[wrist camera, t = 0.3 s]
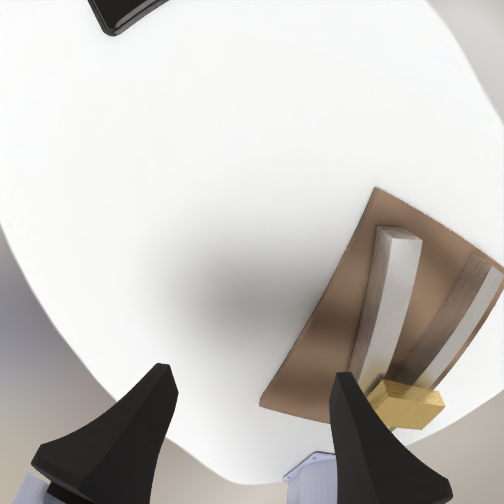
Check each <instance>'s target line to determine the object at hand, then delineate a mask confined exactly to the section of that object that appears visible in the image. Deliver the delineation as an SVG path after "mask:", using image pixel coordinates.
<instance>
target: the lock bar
mask: <svg viewBox="0 0 504 504" xmlns="http://www.w3.org/2000/svg"><path fill="white" fill-rule="evenodd" d="M367 400H368V401H369V403H370V404H371V406H372V407H373V409H374V410H375V412H376V413H377V415H378V416H379V417H380V419H381V420H382V421H383V423H384V424H385V425H386V426H389V427H397V428H407V429H419V430H422V429H423V428H424V427H425V426H426V425H427V424H428V423H429V422H431V421H432V420H433V419H434V418H435V417H436V416H437V415H438V414H439V413H440V412H441V411H442V410H443V409H444V408H445V404H444V402H443V400H442V398H441V396H440V393H439V391H434V390H429V389H424V388H419V387H414V386H410V385H405V384H401V383H397V382H392V381H388V380H384V379H382V381H381V382H380V383H379V384H378V385H377V387H376V388H375V389H374V390H373V391H372V392H371V393H370V395H369V396H368V397H367Z"/></svg>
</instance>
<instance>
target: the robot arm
mask: <svg viewBox="0 0 504 504" xmlns="http://www.w3.org/2000/svg"><path fill="white" fill-rule="evenodd" d="M178 393H179V392H178V389H177V386H176V383H175V380H174V377H173V374H172V371H171V368H170V365H168V364H161V363H157V364H155V365H154V366H153V368H152V369H151V370H150V371H149V372H148V373H147V374H146V375H145V376H144V377H143V378H142V379H141V380H140V381H139V382H138V383H137V384H136V385H135V386H134V387H133V388H132V389H131V390H130V391H129V392H128V393H127V394H126V395H125V396H124V397H123V398H122V399H120V400H119V401H118V402H117V403H116V404H115V405H114V406H112V407H111V408H110V409H109V410H107V411H106V412H105V413H103V414H102V415H101V416H99V417H98V418H97V419H95V420H94V421H92V422H90V423H89V424H87V425H86V426H84V427H82V428H80V429H79V430H77V431H75V432H72V433H70V434H68V435H66V436H64V437H62V438H59V439H57V440H54V441H51V442H48V443H45V444H41V445H40V447H39V449H38V451H37V452H36V454H35V456H34V458H33V460H32V461H31V465H32V466H33V467H34V468H35V469H36V470H37V471H39V472H40V473H41V474H43V475H44V476H45V477H46V478H48V479H49V480H50V481H51V483H50V485H49V484H48V483H46V482H44V481H43V480H41V479H40V478H38V477H37V476H35V475H33V474H32V473H31V472H28V473H27V475H26V477H25V479H24V481H23V483H22V485H21V487H20V489H19V491H18V493H17V495H16V497H15V499H14V502H13V504H149V503H150V494H151V488H152V483H153V477H154V471H155V468H156V463H157V459H158V455H159V452H160V449H161V446H162V443H163V441H164V438H165V435H166V433H167V430H168V427H169V425H170V422H171V419H172V417H173V414H174V411H175V407H176V402H177V398H178ZM329 413H330V424H331V431H332V437H333V443H334V449H335V455H332V454H325V453H314V454H312V455H311V456H310V457H309V458H308V459H306V460H305V461H304V462H303V463H301V464H300V465H299V466H298V467H296V468H295V469H294V470H293V471H291V472H290V473H289V474H287V475H286V476H285V477H283V481H287V482H288V495H287V504H445V503H447V502H448V501H450V500H451V499H452V498H453V493H452V489H451V486H450V483H449V481H448V479H446V478H445V477H443V476H441V475H440V474H438V473H437V472H435V471H434V470H432V469H431V468H429V467H428V466H427V465H425V464H424V463H422V462H421V461H420V460H419V459H418V458H417V457H415V456H414V455H413V454H412V453H411V452H410V451H409V450H407V449H406V448H405V447H404V446H403V445H402V444H401V442H400V441H399V440H398V439H397V438H396V437H395V436H394V435H393V434H392V433H391V431H390V430H389V429H388V428H387V427H386V425H385V424H384V423H383V421H382V420H381V419H380V417H379V416H378V415H377V413H376V412H375V410H374V409H373V407H372V406H371V404H370V403H369V401H368V400H367V398H366V397H365V395H364V393H363V392H362V390H361V388H360V387H359V385H358V383H357V381H356V380H355V378H354V376H353V374H352V373H351V372H337V373H336V376H335V380H334V384H333V388H332V391H331V395H330V398H329Z"/></svg>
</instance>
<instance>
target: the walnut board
mask: <svg viewBox="0 0 504 504" xmlns="http://www.w3.org/2000/svg"><path fill="white" fill-rule="evenodd" d="M377 226H389V227H401V228H405V229H406V230H408V231H409V232H411V233H412V234H414V235H415V236H417V237H418V238H420V239H421V240H422V241H423V242H422V247H421V253H420V258H419V263H418V268H417V272H416V277H415V281H414V285H413V290H412V294H411V297H410V301H409V305H408V309H407V312H406V316H405V319H404V323H403V326H402V329H401V332H400V335H399V339H398V342H397V345H396V348H395V350H394V353H393V356H392V359H391V362H390V364H389V367H388V370H387V372H386V375H385V377H384V380H388V379H389V378H390V377H391V376H392V375H393V373H394V372H395V371H396V370H397V368H398V367H399V366H400V365H401V363H402V362H403V361H404V359H405V358H406V357H407V356H408V354H409V353H410V352H411V350H412V349H413V347H414V346H415V345H416V343H417V342H418V341H419V339H420V338H421V336H422V335H423V333H424V332H425V330H426V329H427V328H428V326H429V325H430V323H431V322H432V320H433V318H434V317H435V315H436V314H437V312H438V311H439V309H440V307H441V306H442V304H443V302H444V301H445V299H446V297H447V296H448V294H449V292H450V291H451V289H452V287H453V285H454V284H455V282H456V280H457V278H458V276H459V274H460V272H461V271H462V269H463V267H464V265H465V263H466V261H467V259H468V257H469V255H470V253H471V252H472V253H474V254H475V255H477V256H478V257H480V258H481V259H483V260H484V261H486V262H487V263H489V264H490V265H492V266H493V267H495V268H496V269H497V270H499V271H500V272H501V273H503V274H504V268H503V267H501V266H500V265H499V264H497V263H496V262H495V261H494V260H492V259H491V258H490V257H488V256H487V255H485V254H484V253H483V252H481V251H480V250H479V249H477V248H476V247H474V246H473V245H471V244H470V243H469V242H467V241H466V240H464V239H463V238H461V237H460V236H458V235H457V234H455V233H454V232H452V231H451V230H449V229H447V228H446V227H444V226H443V225H441V224H440V223H438V222H436V221H435V220H433V219H432V218H430V217H428V216H427V215H425V214H423V213H422V212H420V211H418V210H416V209H415V208H413V207H411V206H410V205H408V204H406V203H404V202H403V201H401V200H399V199H397V198H395V197H393V196H392V195H390V194H388V193H386V192H384V191H382V190H380V189H378V188H374V191H373V193H372V195H371V198H370V200H369V202H368V204H367V207H366V209H365V211H364V213H363V215H362V218H361V220H360V222H359V224H358V226H357V228H356V230H355V233H354V235H353V237H352V239H351V241H350V243H349V245H348V247H347V249H346V251H345V253H344V255H343V257H342V259H341V261H340V263H339V265H338V267H337V269H336V271H335V273H334V275H333V277H332V279H331V280H330V282H329V284H328V286H327V288H326V290H325V292H324V294H323V295H322V297H321V299H320V301H319V303H318V305H317V306H316V308H315V310H314V312H313V313H312V315H311V317H310V319H309V321H308V322H307V324H306V326H305V327H304V329H303V331H302V333H301V334H300V336H299V338H298V339H297V341H296V343H295V344H294V346H293V348H292V349H291V351H290V353H289V354H288V356H287V358H286V359H285V361H284V362H283V364H282V366H281V367H280V369H279V370H278V372H277V374H276V375H275V377H274V378H273V380H272V381H271V383H270V384H269V386H268V387H267V389H266V390H265V392H264V393H263V395H262V396H261V398H260V403H259V406H260V407H264V408H267V409H271V410H274V411H278V412H281V413H285V414H289V415H293V416H297V417H301V418H305V419H309V420H314V421H318V422H323V423H328V424H330V413H329V398H330V395H331V391H332V388H333V384H334V380H335V376H336V373H337V372H347V371H348V367H349V364H350V360H351V356H352V353H353V349H354V345H355V341H356V337H357V333H358V329H359V325H360V320H361V316H362V311H363V307H364V302H365V297H366V292H367V287H368V281H369V276H370V270H371V264H372V258H373V251H374V244H375V237H376V229H377ZM503 289H504V278H503V280H502V282H501V284H500V286H499V288H498V290H497V292H496V294H495V295H494V297H493V299H492V301H491V302H490V304H489V306H488V308H487V309H486V311H485V313H484V314H483V316H482V317H481V319H480V321H479V322H478V324H477V325H476V327H475V328H474V330H473V331H472V333H471V334H470V336H469V337H468V339H467V340H466V342H465V343H464V345H463V346H462V347H461V349H460V350H459V351H458V353H457V354H456V355H455V357H454V358H453V359H452V361H451V362H450V363H449V365H448V366H447V367H446V368H445V370H444V371H443V372H442V373H441V375H440V376H439V377H438V378H437V379H436V381H435V382H434V383H433V384H432V385H431V386H430V388H429V390H434V389H435V388H436V386H437V385H438V384H439V383H440V382H441V381H442V379H443V378H444V377H445V376H446V375H447V373H448V372H449V371H450V370H451V368H452V367H453V366H454V365H455V363H456V362H457V361H458V359H459V358H460V357H461V355H462V354H463V353H464V351H465V350H466V349H467V347H468V346H469V344H470V343H471V342H472V340H473V339H474V337H475V336H476V334H477V333H478V331H479V330H480V328H481V327H482V325H483V324H484V322H485V320H486V319H487V317H488V316H489V314H490V312H491V311H492V309H493V307H494V305H495V304H496V302H497V300H498V298H499V297H500V295H501V293H502V291H503ZM396 428H397V427H391V428H389V430H390V431H391V432H392V431H393V430H394V429H396Z"/></svg>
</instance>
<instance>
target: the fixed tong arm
mask: <svg viewBox="0 0 504 504" xmlns="http://www.w3.org/2000/svg"><path fill="white" fill-rule="evenodd" d="M503 278H504V274H503V273H501V272H500V271H499V270H497V269H496V268H495V267H493V266H492V265H490V264H489V263H487V262H486V261H484V260H483V259H481V258H480V257H478V256H477V255H475V254H474V253H472V252H471V253H470V255H469V257H468V259H467V261H466V263H465V265H464V267H463V269H462V271H461V272H460V274H459V276H458V278H457V280H456V282H455V284H454V285H453V287H452V289H451V291H450V292H449V294H448V296H447V297H446V299H445V301H444V302H443V304H442V306H441V307H440V309H439V311H438V312H437V314H436V315H435V317H434V318H433V320H432V322H431V323H430V325H429V326H428V328H427V329H426V330H425V332H424V333H423V335H422V336H421V338H420V339H419V341H418V342H417V343H416V345H415V346H414V347H413V349H412V350H411V352H410V353H409V354H408V356H407V357H406V358H405V359H404V361H403V362H402V363H401V365H400V366H399V367H398V368H397V370H396V371H395V372H394V373H393V375H392V376H391V377H390V378H389V379H388V381H392V382H397V383H401V384H405V385H410V386H414V387H419V388H424V389H429V388H430V386H431V385H432V384H433V383H434V382H435V381H436V379H437V378H438V377H439V376H440V375H441V373H442V372H443V371H444V370H445V368H446V367H447V366H448V365H449V363H450V362H451V361H452V359H453V358H454V357H455V355H456V354H457V353H458V351H459V350H460V349H461V347H462V346H463V345H464V343H465V342H466V340H467V339H468V337H469V336H470V334H471V333H472V331H473V330H474V328H475V327H476V325H477V324H478V322H479V321H480V319H481V317H482V316H483V314H484V313H485V311H486V309H487V308H488V306H489V304H490V302H491V301H492V299H493V297H494V295H495V294H496V292H497V290H498V288H499V286H500V284H501V282H502V280H503ZM386 427H387V428H388V429H389V428H391V427H389V426H386Z"/></svg>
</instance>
